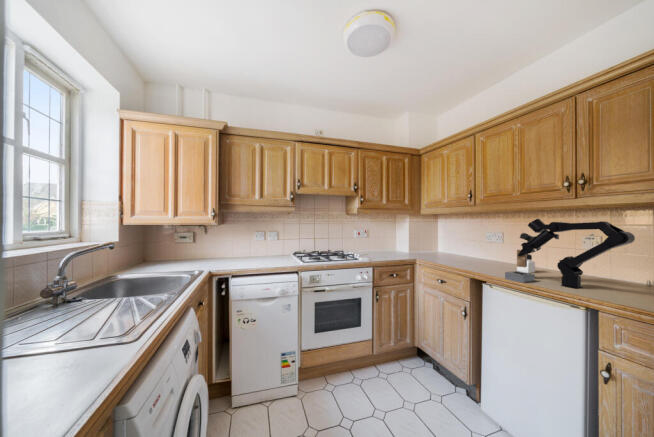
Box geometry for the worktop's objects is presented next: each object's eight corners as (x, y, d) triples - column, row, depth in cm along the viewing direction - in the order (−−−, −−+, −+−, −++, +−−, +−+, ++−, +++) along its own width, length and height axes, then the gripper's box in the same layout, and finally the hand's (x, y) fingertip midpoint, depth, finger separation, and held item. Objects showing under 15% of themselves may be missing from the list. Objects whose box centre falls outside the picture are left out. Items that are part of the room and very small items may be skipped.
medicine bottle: (535, 272, 167) (535, 254, 167) (528, 273, 165) (528, 255, 165) (523, 270, 174) (523, 253, 174) (516, 271, 171) (516, 253, 171)
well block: (534, 281, 144) (534, 274, 144) (523, 282, 140) (523, 275, 140) (515, 277, 153) (515, 270, 153) (505, 278, 149) (505, 272, 149)
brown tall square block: (526, 266, 152) (526, 250, 152) (524, 267, 150) (524, 250, 150) (518, 265, 155) (518, 249, 155) (516, 266, 153) (516, 250, 153)
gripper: (534, 228, 155) (512, 244, 164) (525, 228, 144) (502, 246, 152) (550, 241, 149) (527, 258, 158) (543, 243, 137) (518, 261, 146)
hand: (519, 255), depth 153 cm, fingers closed on brown tall square block, 4 cm apart
